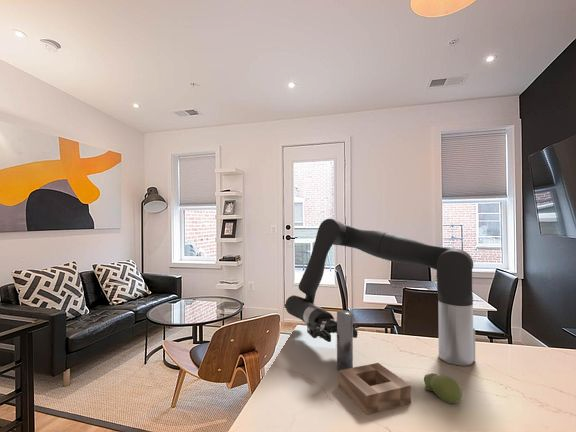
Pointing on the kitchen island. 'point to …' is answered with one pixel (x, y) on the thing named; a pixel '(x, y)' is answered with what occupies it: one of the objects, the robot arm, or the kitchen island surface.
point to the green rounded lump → (443, 387)
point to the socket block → (374, 387)
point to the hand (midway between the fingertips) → (343, 336)
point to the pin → (344, 340)
